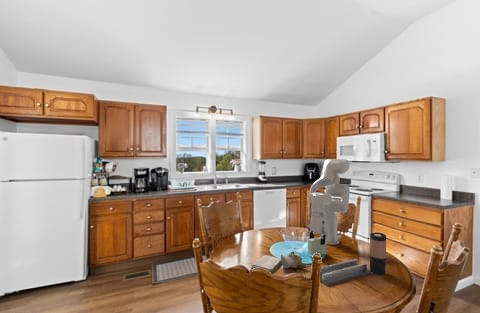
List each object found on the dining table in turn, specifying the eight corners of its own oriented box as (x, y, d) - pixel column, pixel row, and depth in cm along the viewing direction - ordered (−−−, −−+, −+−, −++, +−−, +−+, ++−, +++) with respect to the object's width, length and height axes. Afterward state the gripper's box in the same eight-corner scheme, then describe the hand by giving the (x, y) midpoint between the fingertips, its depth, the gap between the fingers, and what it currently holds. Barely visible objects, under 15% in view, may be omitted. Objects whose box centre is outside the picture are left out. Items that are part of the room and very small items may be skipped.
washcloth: (250, 269, 131) (250, 263, 131) (264, 257, 146) (264, 252, 146) (270, 275, 125) (270, 269, 125) (283, 262, 140) (283, 257, 140)
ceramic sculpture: (277, 248, 137) (302, 248, 140) (276, 263, 137) (301, 262, 140) (285, 256, 127) (311, 255, 130) (283, 272, 127) (310, 271, 130)
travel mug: (385, 276, 124) (386, 237, 124) (368, 272, 128) (369, 235, 128) (386, 270, 130) (386, 233, 130) (369, 267, 134) (370, 231, 134)
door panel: (322, 252, 154) (323, 236, 154) (326, 254, 152) (326, 238, 152) (307, 255, 149) (308, 239, 149) (311, 257, 147) (311, 240, 147)
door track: (351, 264, 138) (352, 257, 138) (371, 273, 127) (371, 266, 127) (310, 274, 125) (310, 266, 125) (327, 286, 114) (327, 277, 114)
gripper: (332, 216, 144) (332, 246, 143) (312, 211, 160) (312, 237, 159) (323, 217, 141) (322, 247, 140) (303, 211, 156) (303, 238, 156)
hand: (317, 242), depth 150 cm, fingers open, 9 cm apart
